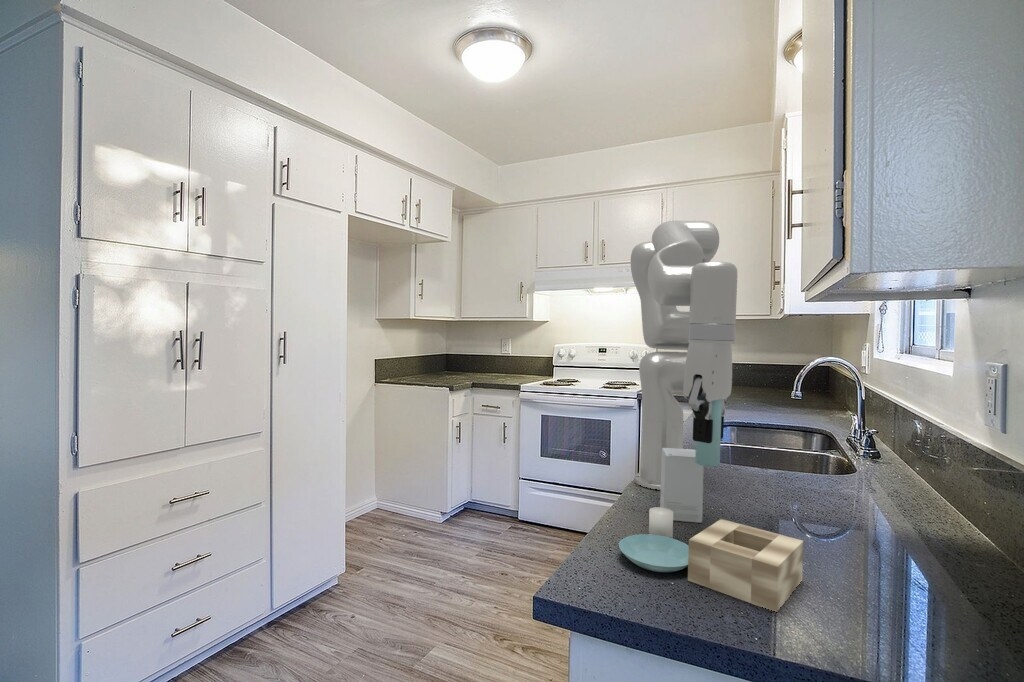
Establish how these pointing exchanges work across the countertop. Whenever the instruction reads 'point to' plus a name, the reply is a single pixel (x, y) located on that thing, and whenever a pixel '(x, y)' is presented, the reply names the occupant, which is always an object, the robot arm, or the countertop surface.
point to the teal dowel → (711, 451)
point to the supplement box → (682, 484)
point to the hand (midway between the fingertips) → (708, 438)
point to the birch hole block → (746, 563)
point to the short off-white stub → (661, 522)
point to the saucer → (655, 552)
